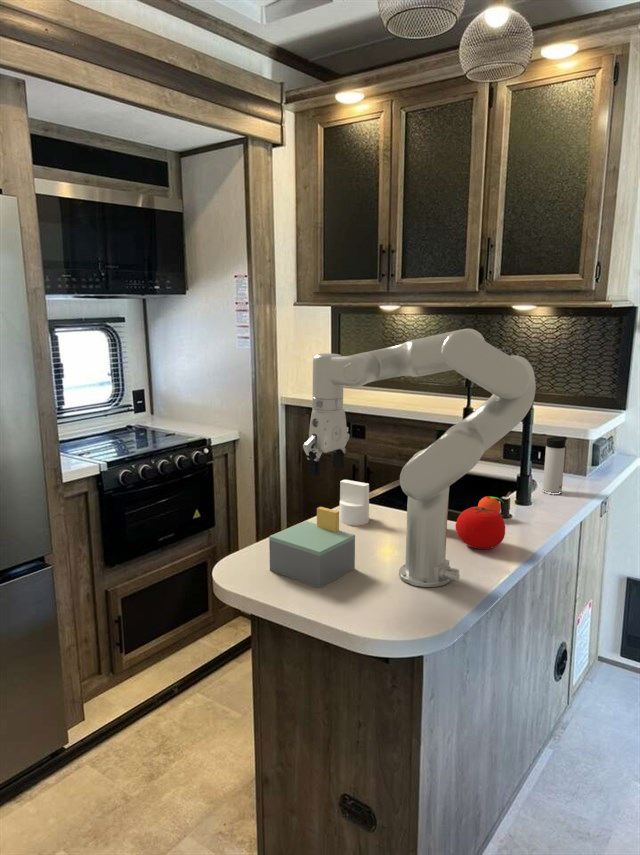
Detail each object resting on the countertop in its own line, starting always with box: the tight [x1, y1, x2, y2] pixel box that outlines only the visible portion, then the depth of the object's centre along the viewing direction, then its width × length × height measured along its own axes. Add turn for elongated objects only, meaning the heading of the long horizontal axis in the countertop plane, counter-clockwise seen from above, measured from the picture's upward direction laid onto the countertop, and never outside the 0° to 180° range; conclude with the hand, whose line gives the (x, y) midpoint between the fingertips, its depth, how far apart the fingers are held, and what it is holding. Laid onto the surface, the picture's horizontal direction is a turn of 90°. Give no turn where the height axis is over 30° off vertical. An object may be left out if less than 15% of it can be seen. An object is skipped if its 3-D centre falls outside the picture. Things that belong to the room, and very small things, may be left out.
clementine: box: [477, 495, 504, 514], centre depth 192 cm, size 8×7×7 cm
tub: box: [268, 538, 356, 589], centre depth 154 cm, size 16×14×8 cm
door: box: [268, 506, 356, 556], centre depth 153 cm, size 16×14×7 cm
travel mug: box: [542, 436, 568, 493], centre depth 216 cm, size 6×7×20 cm
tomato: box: [455, 506, 506, 550], centre depth 169 cm, size 12×13×11 cm
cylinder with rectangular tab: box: [339, 479, 370, 526], centre depth 189 cm, size 9×9×12 cm
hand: (326, 471), depth 155 cm, fingers open, 9 cm apart
